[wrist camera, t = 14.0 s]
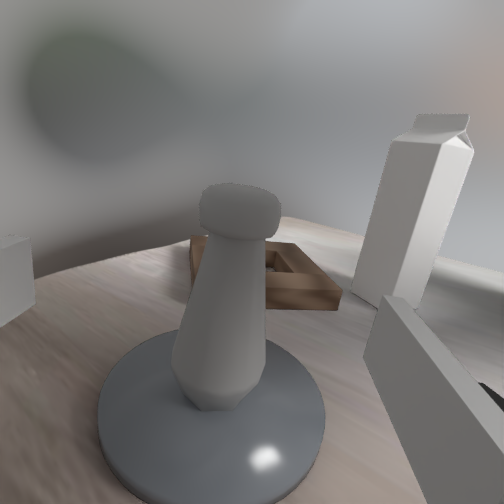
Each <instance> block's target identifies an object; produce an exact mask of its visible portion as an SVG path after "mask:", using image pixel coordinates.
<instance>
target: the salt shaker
mask: <svg viewBox="0 0 504 504" xmlns="http://www.w3.org/2000/svg"><path fill="white" fill-rule="evenodd" d="M280 218H281V203H280V202H279V200H278V198H277V197H276V196H275V195H274V194H272V193H270V192H269V191H267V190H264V189H261V188H258V187H253V186H248V185H241V184H232V183H222V184H215V185H211V186H209V187H208V188H207V189H205V190H204V191H203V192H202V196H201V199H200V203H199V221H200V225H201V227H203V228H204V229H206V230H208V231H209V235H208V239H207V242H206V245H205V249H204V252H203V256H202V259H201V262H200V266H199V269H198V273H197V276H196V279H195V282H194V285H193V288H192V291H191V294H190V297H189V300H188V304H187V307H186V310H185V313H184V316H183V319H182V322H181V325H180V328H179V331H178V334H177V338H176V341H175V344H174V347H173V352H172V359H171V367H172V371H173V373H174V375H175V378H176V380H177V382H178V384H179V386H180V388H181V390H182V392H183V394H184V395H185V396H186V397H187V398H188V399H189V400H190V401H191V402H193V403H194V404H195V405H196V406H197V407H198V408H199V409H200V410H201V411H202V412H203V411H233V409H234V408H235V407H236V406H237V404H238V403H239V402H240V401H241V400H242V399H243V398H244V397H245V396H246V395H247V394H248V393H249V392H250V391H251V390H252V389H253V388H254V387H255V386H256V385H257V384H258V382H259V380H260V377H261V374H262V372H263V369H264V366H265V363H266V329H265V239H266V238H271V237H272V236H273V235H274V234H275V233H276V231H277V229H278V226H279V222H280Z"/></svg>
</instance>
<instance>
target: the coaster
mask: <svg viewBox="0 0 504 504" xmlns="http://www.w3.org/2000/svg"><path fill="white" fill-rule="evenodd" d="M178 331H179V330H175V331H171V332H167V333H164V334H161V335H158V336H156V337H153V338H151V339H149V340H147V341H145V342H143V343H142V344H140V345H138V346H137V347H135V348H134V349H132V350H131V351H130V352H128V353H127V354H126V355H125V356H124V357H123V358H122V359H121V360H120V361H119V362H118V363H117V364H116V365H115V366H114V368H113V369H112V370H111V372H110V373H109V375H108V377H107V378H106V380H105V382H104V384H103V387H102V389H101V392H100V397H99V401H98V417H97V418H98V436H99V443H100V447H101V449H102V452H103V455H104V458H105V460H106V462H107V463H108V465H109V467H110V469H111V471H112V472H113V473H114V475H115V476H116V477H117V478H118V479H119V481H120V482H121V483H122V484H123V485H124V486H125V487H126V488H127V489H128V490H130V491H131V492H132V493H133V494H134V495H135V496H137V497H138V498H140V499H142V500H143V501H145V502H147V503H148V504H275V503H277V502H279V501H280V500H282V499H284V498H285V497H286V496H287V495H288V494H290V493H291V492H292V491H293V490H295V489H296V488H297V487H298V485H299V484H300V483H301V482H302V481H303V480H304V479H305V477H306V476H307V474H308V473H309V471H310V470H311V468H312V466H313V465H314V462H315V460H316V457H317V455H318V452H319V449H320V445H321V442H322V438H323V434H324V429H325V410H324V403H323V400H322V396H321V393H320V391H319V389H318V387H317V384H316V383H315V381H314V379H313V378H312V376H311V375H310V373H309V372H308V371H307V370H306V368H305V367H304V366H303V365H302V364H301V363H300V362H299V361H298V360H297V359H296V358H295V357H294V356H292V355H291V354H290V353H289V352H287V351H286V350H284V349H283V348H281V347H280V346H278V345H276V344H274V343H273V342H271V341H269V340H267V339H266V363H265V366H264V369H263V372H262V374H261V377H260V380H259V382H258V384H257V385H256V386H255V387H254V388H253V389H252V390H251V391H250V392H249V393H248V394H247V395H246V396H245V397H244V398H243V399H242V400H241V401H240V402H239V403H238V404H237V406H236V407H235V408H234V409H233V411H203V412H202V411H201V410H200V409H199V408H198V407H197V406H196V405H195V404H194V403H193V402H191V401H190V400H189V399H188V398H187V397H186V396H185V395H184V394H183V392H182V390H181V388H180V386H179V384H178V382H177V380H176V378H175V375H174V373H173V371H172V367H171V359H172V352H173V347H174V344H175V341H176V338H177V334H178Z"/></svg>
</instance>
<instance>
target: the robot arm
mask: <svg viewBox="0 0 504 504" xmlns="http://www.w3.org/2000/svg"><path fill="white" fill-rule="evenodd" d="M35 304H36V300H35V288H34V276H33V263H32V251H31V239H30V238H27V237H21V236H14V235H8V236H5V237H2V238H0V328H1V327H2V326H4V325H5V324H7V323H8V322H10V321H11V320H13V319H14V318H16V317H17V316H19V315H20V314H22V313H23V312H25V311H26V310H28V309H29V308H31V307H32V306H34V305H35ZM363 358H364V361H365V363H366V365H367V367H368V370H369V372H370V374H371V376H372V379H373V381H374V383H375V386H376V388H377V390H378V392H379V395H380V397H381V399H382V401H383V404H384V406H385V408H386V411H387V413H388V415H389V417H390V420H391V422H392V424H393V426H394V429H395V431H396V433H397V435H398V438H399V440H400V442H401V445H402V447H403V449H404V451H405V454H406V456H407V458H408V460H409V463H410V465H411V467H412V470H413V472H414V474H415V476H416V479H417V481H418V483H419V485H420V488H421V490H422V492H423V495H424V497H425V499H426V501H427V504H504V398H502V397H501V396H500V395H498V394H497V393H496V392H494V391H493V390H492V389H490V388H489V387H488V386H486V385H485V384H483V383H478V382H477V381H476V380H475V379H474V378H473V377H472V376H471V374H470V373H469V372H468V371H467V370H466V369H465V368H464V366H463V365H462V364H461V363H460V362H459V361H458V360H457V359H456V357H455V356H454V355H453V354H452V353H451V352H450V351H449V349H448V348H447V347H446V346H445V345H444V344H443V343H442V341H441V340H440V339H439V338H438V337H437V336H436V335H435V334H434V332H433V331H432V330H431V329H430V328H429V327H428V326H427V324H426V323H425V322H424V321H423V320H422V319H421V318H420V316H419V315H418V314H417V313H416V312H415V311H414V310H413V309H412V307H411V306H410V305H409V304H408V303H407V302H406V301H405V299H404V298H400V297H394V296H387V295H382V298H381V301H380V305H379V308H378V311H377V314H376V317H375V320H374V324H373V327H372V330H371V333H370V336H369V339H368V343H367V346H366V349H365V352H364V355H363Z"/></svg>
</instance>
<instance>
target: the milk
mask: <svg viewBox="0 0 504 504" xmlns="http://www.w3.org/2000/svg"><path fill="white" fill-rule="evenodd" d="M469 119H470V116H469V115H468V114H419V115H417V116H416V119H415V122H414V126H413V128H412V129H411V130H409V131H407V132H405V133H404V134H402V135H400V136H398V137H396V138H395V139H393V140H392V141H391V145H390V148H389V152H388V156H387V159H386V163H385V166H384V170H383V173H382V177H381V181H380V184H379V188H378V192H377V195H376V199H375V202H374V206H373V210H372V213H371V217H370V221H369V224H368V228H367V231H366V235H365V239H364V242H363V246H362V249H361V253H360V257H359V260H358V264H357V268H356V271H355V275H354V278H353V282H352V286H351V289H350V291H351V292H352V293H354V294H356V295H357V296H359V297H360V298H362V299H363V300H365V301H367V302H368V303H370V304H371V305H373V306H374V307H376V308H379V305H380V301H381V298H382V295H387V296H394V297H400V298H404V299H405V301H406V302H407V303H408V304H409V305H410V306H411V307H412V309H417V308H418V307H419V304H420V301H421V299H422V296H423V293H424V290H425V288H426V285H427V282H428V279H429V276H430V274H431V271H432V268H433V265H434V263H435V260H436V257H437V254H438V251H439V248H440V246H441V243H442V240H443V237H444V235H445V232H446V229H447V227H448V224H449V221H450V218H451V215H452V213H453V210H454V207H455V204H456V202H457V199H458V196H459V193H460V191H461V188H462V185H463V182H464V179H465V177H466V174H467V171H468V168H469V165H470V163H471V160H472V157H473V155H474V149H473V147H472V144H471V142H470V140H469V138H468V135H467V133H466V128H467V125H468V122H469Z"/></svg>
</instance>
